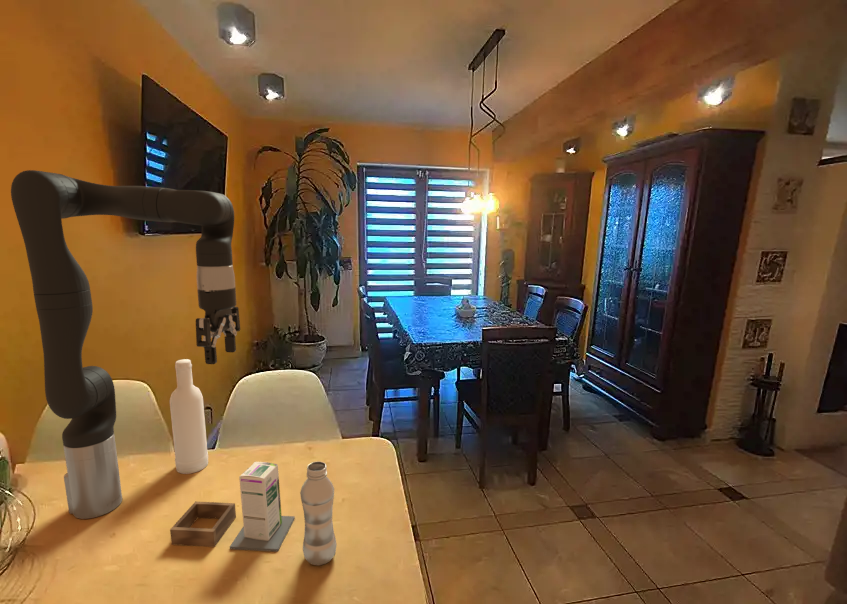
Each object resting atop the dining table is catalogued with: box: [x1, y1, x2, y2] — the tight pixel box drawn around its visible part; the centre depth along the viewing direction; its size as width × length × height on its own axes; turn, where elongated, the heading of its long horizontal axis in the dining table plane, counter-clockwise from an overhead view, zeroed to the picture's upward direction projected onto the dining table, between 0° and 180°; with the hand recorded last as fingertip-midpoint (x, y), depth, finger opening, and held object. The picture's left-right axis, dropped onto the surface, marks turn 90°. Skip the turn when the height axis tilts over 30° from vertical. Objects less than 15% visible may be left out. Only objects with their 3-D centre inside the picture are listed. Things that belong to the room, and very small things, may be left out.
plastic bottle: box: [299, 460, 337, 566], centre depth 86 cm, size 6×7×20 cm
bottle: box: [169, 358, 209, 475], centre depth 116 cm, size 8×8×30 cm
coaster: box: [229, 515, 296, 553], centre depth 94 cm, size 10×10×1 cm
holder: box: [169, 501, 237, 548], centre depth 94 cm, size 9×9×4 cm
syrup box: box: [238, 461, 283, 541], centre depth 93 cm, size 6×6×14 cm
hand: (221, 357), depth 98 cm, fingers open, 8 cm apart
